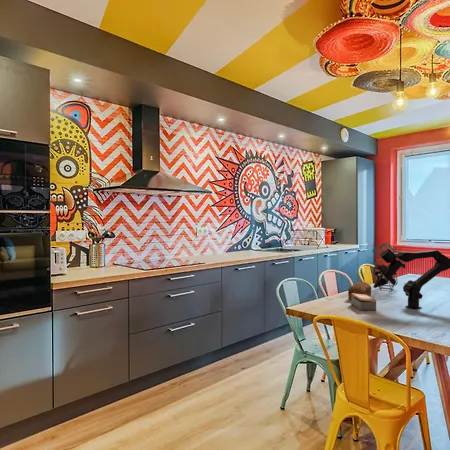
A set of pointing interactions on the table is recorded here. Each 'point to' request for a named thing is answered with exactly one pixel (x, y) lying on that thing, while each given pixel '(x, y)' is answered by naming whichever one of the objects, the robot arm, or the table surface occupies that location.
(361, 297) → the lid
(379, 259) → the geometric lantern
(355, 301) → the storage box
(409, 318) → the table surface
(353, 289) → the bread
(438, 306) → the table surface
